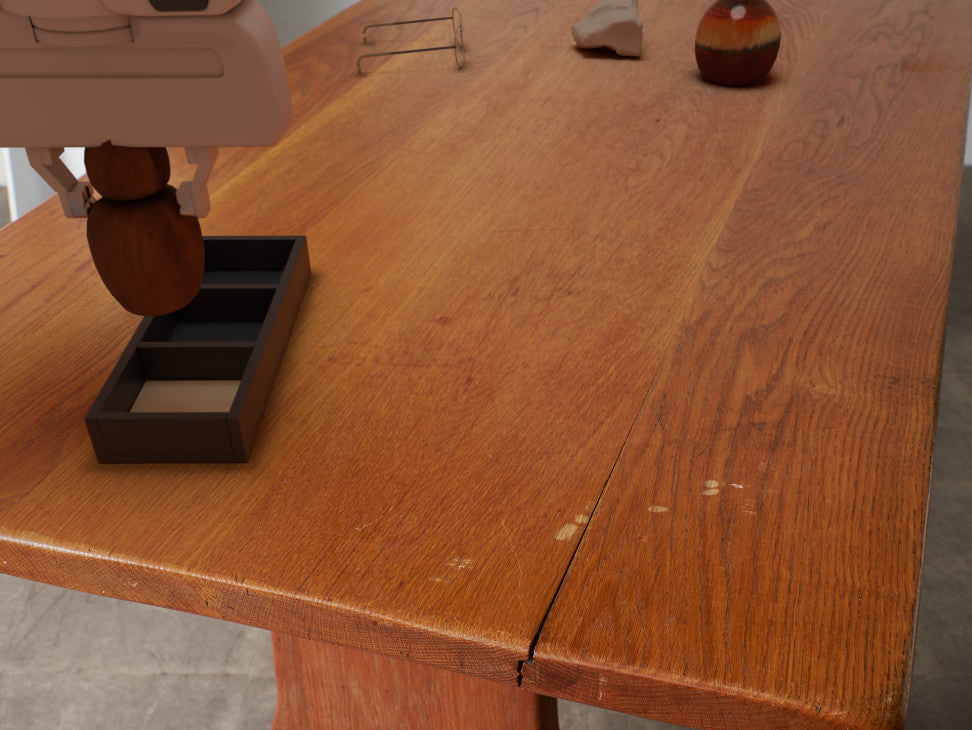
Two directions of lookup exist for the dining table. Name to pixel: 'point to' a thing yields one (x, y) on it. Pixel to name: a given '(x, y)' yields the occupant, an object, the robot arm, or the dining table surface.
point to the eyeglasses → (417, 49)
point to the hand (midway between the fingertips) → (140, 214)
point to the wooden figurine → (141, 231)
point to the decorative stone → (611, 27)
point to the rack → (205, 359)
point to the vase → (737, 42)
